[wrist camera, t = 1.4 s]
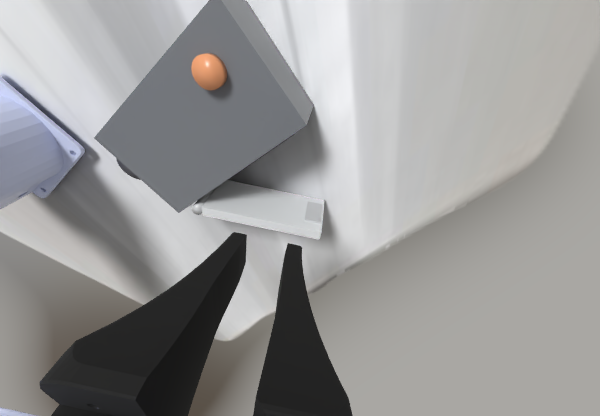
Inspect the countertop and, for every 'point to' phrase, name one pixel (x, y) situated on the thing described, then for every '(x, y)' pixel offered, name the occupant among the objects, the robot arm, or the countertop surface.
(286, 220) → the side door
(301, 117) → the grey box
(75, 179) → the countertop surface
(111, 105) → the countertop surface
